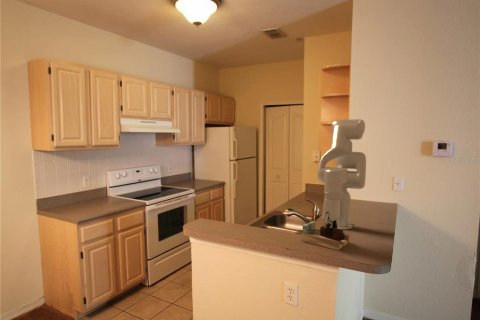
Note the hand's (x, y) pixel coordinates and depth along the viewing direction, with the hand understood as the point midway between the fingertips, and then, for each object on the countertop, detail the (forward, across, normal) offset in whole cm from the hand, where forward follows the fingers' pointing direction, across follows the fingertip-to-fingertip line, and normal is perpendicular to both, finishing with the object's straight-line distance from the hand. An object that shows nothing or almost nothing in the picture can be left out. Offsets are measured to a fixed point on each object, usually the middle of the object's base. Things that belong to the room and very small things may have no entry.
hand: (331, 234), depth 136 cm
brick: (+2, 0, 0) cm, 2 cm away
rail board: (+4, 0, -3) cm, 5 cm away
